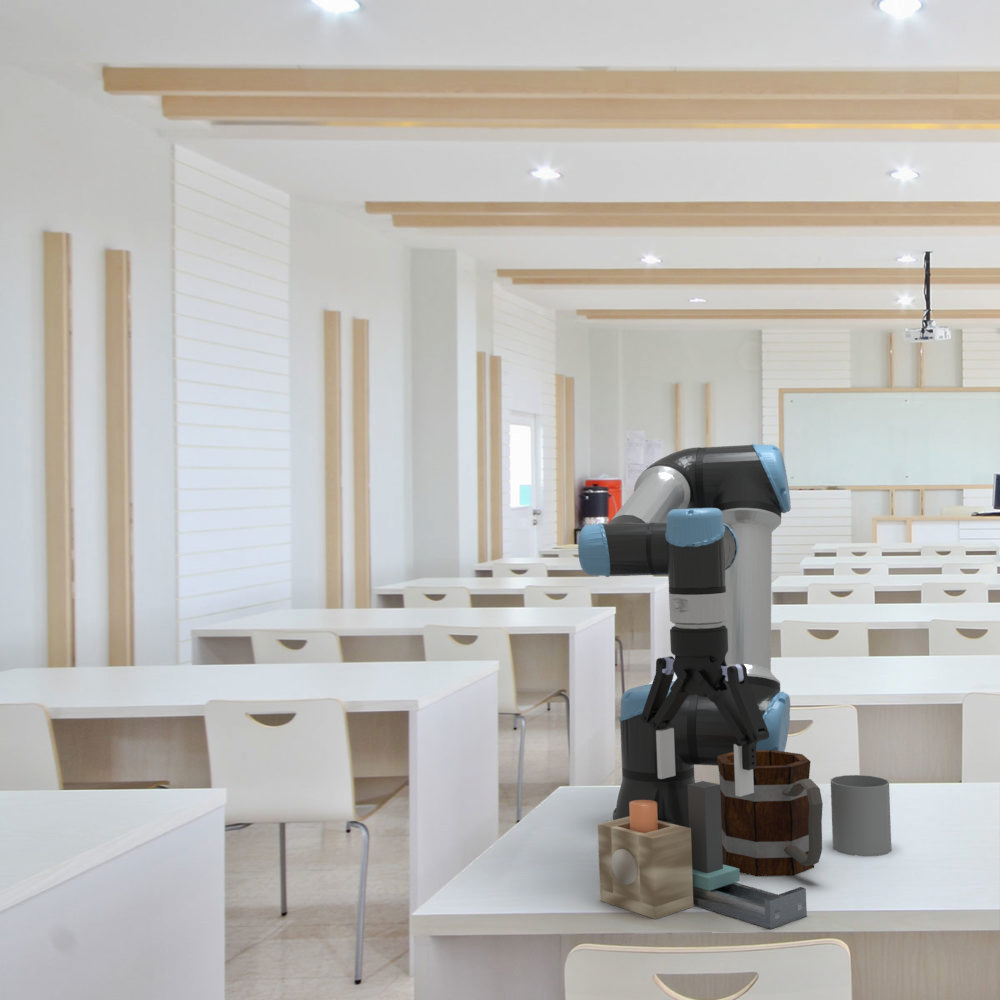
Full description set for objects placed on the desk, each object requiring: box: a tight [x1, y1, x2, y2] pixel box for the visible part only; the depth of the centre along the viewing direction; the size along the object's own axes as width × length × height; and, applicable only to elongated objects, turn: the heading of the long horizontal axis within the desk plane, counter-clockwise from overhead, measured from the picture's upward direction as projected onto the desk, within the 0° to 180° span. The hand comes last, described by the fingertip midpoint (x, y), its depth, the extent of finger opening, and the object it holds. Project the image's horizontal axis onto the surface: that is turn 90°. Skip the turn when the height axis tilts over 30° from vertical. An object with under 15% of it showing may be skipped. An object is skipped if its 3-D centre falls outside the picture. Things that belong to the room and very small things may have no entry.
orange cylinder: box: [629, 800, 658, 833], centre depth 152 cm, size 4×4×8 cm
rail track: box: [693, 882, 808, 930], centre depth 151 cm, size 18×7×3 cm, turn 38°
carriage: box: [688, 780, 741, 891], centre depth 154 cm, size 6×6×13 cm
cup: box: [830, 774, 892, 857], centre depth 175 cm, size 8×8×10 cm
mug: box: [717, 750, 823, 877], centre depth 166 cm, size 20×14×15 cm
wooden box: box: [597, 816, 694, 920], centre depth 152 cm, size 10×7×10 cm
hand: (704, 785), depth 155 cm, fingers open, 13 cm apart
